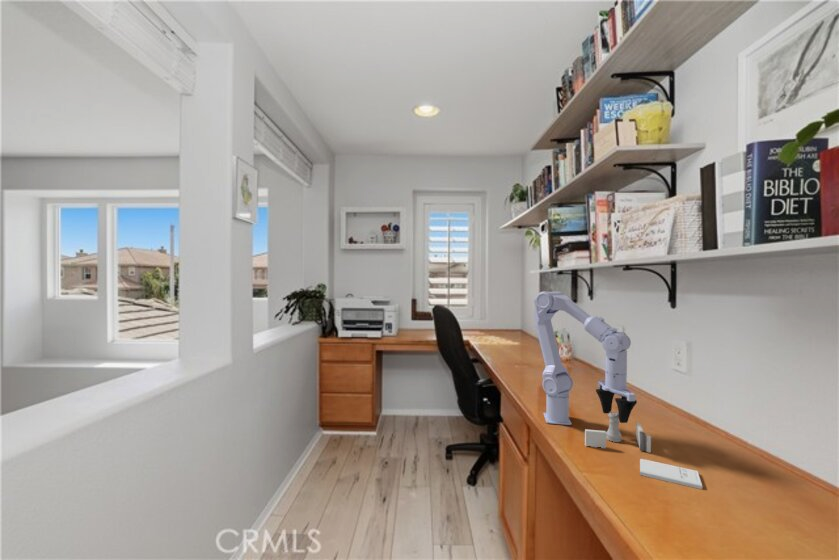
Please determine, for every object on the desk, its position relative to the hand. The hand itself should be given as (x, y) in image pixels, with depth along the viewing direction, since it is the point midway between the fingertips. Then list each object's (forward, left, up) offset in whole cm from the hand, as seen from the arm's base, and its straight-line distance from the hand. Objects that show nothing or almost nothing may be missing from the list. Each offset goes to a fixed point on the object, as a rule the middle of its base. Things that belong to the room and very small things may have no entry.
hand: (614, 417), depth 115 cm
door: (+3, +6, -6) cm, 9 cm away
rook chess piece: (0, 0, -7) cm, 7 cm away
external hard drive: (+20, +7, -7) cm, 22 cm away
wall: (+7, -1, -7) cm, 10 cm away
